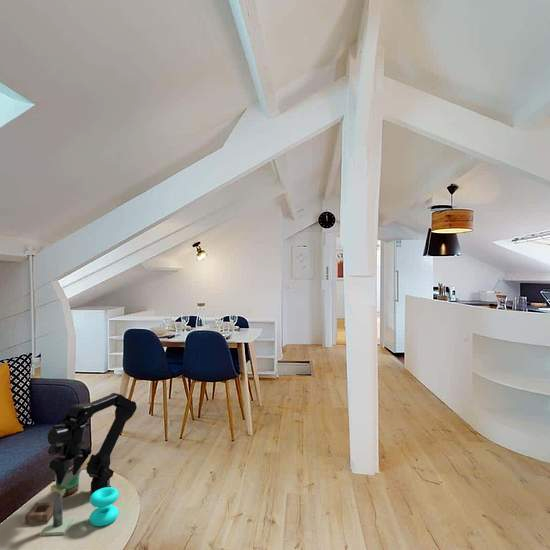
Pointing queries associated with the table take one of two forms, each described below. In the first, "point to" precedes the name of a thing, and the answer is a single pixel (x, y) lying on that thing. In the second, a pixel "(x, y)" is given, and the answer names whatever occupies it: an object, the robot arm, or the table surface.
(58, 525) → the t key
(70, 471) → the food container
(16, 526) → the table surface
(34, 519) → the socket block
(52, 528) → the mat
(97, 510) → the donuts
